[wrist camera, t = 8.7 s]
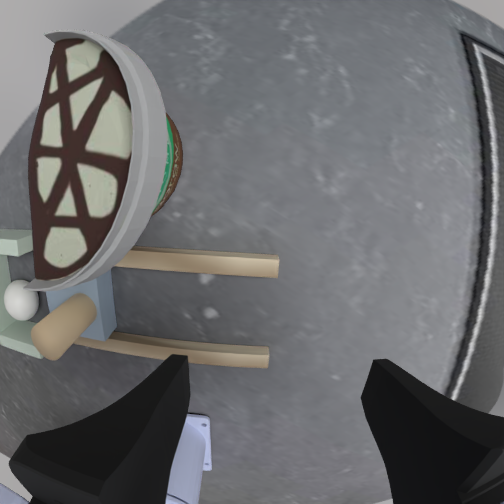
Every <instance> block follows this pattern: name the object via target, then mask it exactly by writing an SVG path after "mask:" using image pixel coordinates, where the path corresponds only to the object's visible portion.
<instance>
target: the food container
mask: <svg viewBox="0 0 504 504" xmlns="http://www.w3.org/2000/svg"><path fill="white" fill-rule="evenodd" d="M44 35H45V36H46V37H47V38H48V39H50V40H51V41H52V42H54V43H55V45H54V48H53V51H52V54H51V56H50V64H49V69H48V74H47V78H46V82H45V86H44V90H43V95H42V99H41V103H40V106H39V110H38V113H37V117H36V121H35V125H34V129H33V133H32V138H31V144H30V150H29V157H28V181H29V195H30V207H31V220H32V241H33V255H34V268H35V279H33V280H32V281H31V282H30V283H28V284H27V285H26V286H25V287H23V289H24V290H31V291H58V290H62V289H65V288H69V287H72V286H76V285H79V284H82V283H85V282H89V281H92V280H93V279H95V278H97V277H99V276H101V275H103V274H104V273H106V272H107V271H109V270H110V269H111V268H112V267H114V266H115V265H116V264H117V263H118V262H120V261H121V260H122V259H123V257H124V256H125V255H126V254H127V253H128V252H129V251H130V249H131V248H132V247H133V246H134V245H135V243H136V241H137V240H138V238H139V237H140V235H141V234H142V232H143V230H144V229H145V227H146V225H147V223H148V221H149V219H150V217H151V216H152V215H154V214H155V213H156V212H157V211H159V210H160V209H161V208H162V207H163V206H164V204H165V203H166V202H167V200H168V199H169V197H170V196H171V195H172V193H173V192H174V191H175V188H176V185H177V183H178V180H179V177H180V175H181V170H182V164H183V150H182V142H181V139H180V135H179V132H178V130H177V128H176V126H175V124H174V122H173V121H172V120H171V118H170V117H169V115H168V114H167V113H166V112H165V107H164V104H163V100H162V96H161V93H160V89H159V87H158V85H157V83H156V81H155V79H154V77H153V75H152V73H151V71H150V70H149V68H148V67H147V66H146V64H145V63H144V62H143V60H142V59H141V58H140V57H139V56H138V55H137V54H136V53H134V52H133V51H132V50H131V49H130V48H128V47H127V46H125V45H123V44H121V43H119V42H117V41H115V40H113V39H111V38H108V37H105V36H103V35H100V34H97V33H92V32H89V31H84V30H57V31H52V32H48V33H44Z"/></svg>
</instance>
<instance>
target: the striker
mask: <svg viewBox="0 0 504 504" xmlns="http://www.w3.org/2000/svg"><path fill="white" fill-rule="evenodd" d="M46 295H47V301H48V306H49V311H50V314H48V315H47V316H46V317H45V318H43V319H42V320H41V321H40V322H39V323H37V324H36V325H35V326H34V327H33V328H32V330H31V338H32V341H33V344H34V346H35V347H36V349H37V350H38V351H39V353H40V354H42V355H43V356H44V357H45V358H47V359H49V360H57V359H59V358H60V357H61V356H62V355H63V353H64V352H65V351H66V350H67V349H68V348H69V347H70V346H71V345H72V344H73V343H74V342H75V340H76V339H77V338H78V337H79V336H80V337H85V338H90V339H95V340H100V341H106V340H107V339H108V337H109V336H110V335H111V334H112V332H113V331H114V330H115V329H116V327H117V322H116V314H115V306H114V297H113V287H112V276H111V269H110V270H109V271H107V272H106V273H104V274H103V275H101V276H99V277H97V278H95V279H93V280H92V281H89V282H85V283H82V284H79V285H76V286H72V287H69V288H65V289H62V290H58V291H46Z"/></svg>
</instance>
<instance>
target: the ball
mask: <svg viewBox="0 0 504 504" xmlns="http://www.w3.org/2000/svg"><path fill="white" fill-rule="evenodd" d="M28 283H29V282H28V281H25V280H15V281H13V282H12V283H10V284H9V285H8V287H7V288H6V290H5V293H4V304H5V308H6V310H7V312H8V313H9V314H10V315H11V316H12V317H13V318H15V319H17V320H20V321H25V320H28V319H30V318H32V317H33V316H34V315H35V314H36V312H37V310H38V306H39V297H38V293H37V291H31V290H24V289H23V287H25V286H26V285H27V284H28Z"/></svg>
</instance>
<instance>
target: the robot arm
mask: <svg viewBox="0 0 504 504" xmlns="http://www.w3.org/2000/svg"><path fill="white" fill-rule="evenodd" d="M361 400H362V405H363V409H364V413H365V416H366V419H367V422H368V424H369V426H370V429H371V431H372V434H373V436H374V438H375V441H376V443H377V446H378V448H379V450H380V453H381V455H382V458H383V461H384V463H385V467H386V471H387V475H388V479H389V483H390V488H391V493H392V498H393V504H504V417H500V416H495V415H491V414H487V413H484V412H481V411H478V410H475V409H472V408H469V407H467V406H464V405H462V404H460V403H458V402H456V401H453V400H451V399H449V398H447V397H446V396H444V395H442V394H440V393H439V392H437V391H435V390H433V389H432V388H430V387H429V386H427V385H426V384H424V383H422V382H421V381H419V380H418V379H416V378H415V377H414V376H412V375H411V374H409V373H408V372H406V371H405V370H403V369H402V368H400V367H399V366H398V365H396V364H394V363H393V362H391V361H390V360H388V359H376V360H373V363H372V366H371V369H370V372H369V375H368V378H367V381H366V384H365V387H364V390H363V393H362V395H361ZM189 401H190V383H189V366H188V356H187V355H178V354H171V355H170V356H169V357H168V358H167V359H166V360H165V361H164V362H163V363H162V364H161V365H160V366H159V367H158V368H157V369H156V370H155V371H154V372H152V373H151V374H150V375H149V376H148V377H147V378H146V379H145V380H144V381H142V382H141V383H140V384H139V385H138V386H136V387H135V388H134V389H133V390H131V391H130V392H129V393H128V394H126V395H125V396H124V397H122V398H121V399H119V400H118V401H116V402H115V403H113V404H112V405H110V406H108V407H107V408H105V409H103V410H101V411H99V412H97V413H95V414H93V415H91V416H89V417H87V418H85V419H83V420H80V421H78V422H75V423H72V424H70V425H67V426H64V427H61V428H57V429H54V430H50V431H45V432H41V433H36V434H31V435H27V436H26V437H25V439H24V440H23V441H22V443H21V444H20V446H19V447H18V449H17V450H16V452H15V453H14V455H13V456H12V458H11V459H10V461H9V466H10V469H11V471H12V473H13V474H14V475H15V477H16V478H17V479H18V480H19V481H20V483H21V484H22V485H23V486H24V487H25V488H26V489H27V491H28V492H29V493H30V494H31V495H32V496H33V497H32V499H31V501H30V502H29V501H27V500H26V499H25V498H23V497H22V496H20V495H19V494H17V493H15V492H14V491H12V490H11V489H9V488H7V487H6V486H4V485H3V484H1V483H0V504H198V501H199V493H200V486H201V479H202V472H203V470H207V471H209V470H211V469H212V460H211V438H210V419H209V417H207V416H203V415H194V414H187V412H188V407H189ZM203 423H205V424H203Z"/></svg>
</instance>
